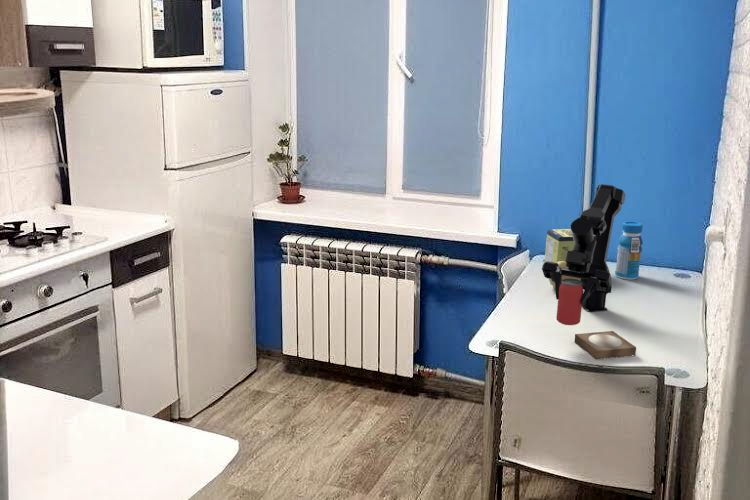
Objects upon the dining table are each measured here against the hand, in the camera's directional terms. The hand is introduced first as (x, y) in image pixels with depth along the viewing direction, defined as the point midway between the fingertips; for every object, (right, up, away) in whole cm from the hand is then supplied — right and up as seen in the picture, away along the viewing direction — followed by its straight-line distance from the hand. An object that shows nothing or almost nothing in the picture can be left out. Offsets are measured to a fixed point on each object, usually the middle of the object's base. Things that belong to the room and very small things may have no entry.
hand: (569, 301), depth 212 cm
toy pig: (+11, 0, +49) cm, 50 cm away
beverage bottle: (+37, +4, +65) cm, 75 cm away
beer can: (0, -6, +3) cm, 7 cm away
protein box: (+17, +6, +68) cm, 70 cm away
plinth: (+10, -13, +2) cm, 17 cm away
